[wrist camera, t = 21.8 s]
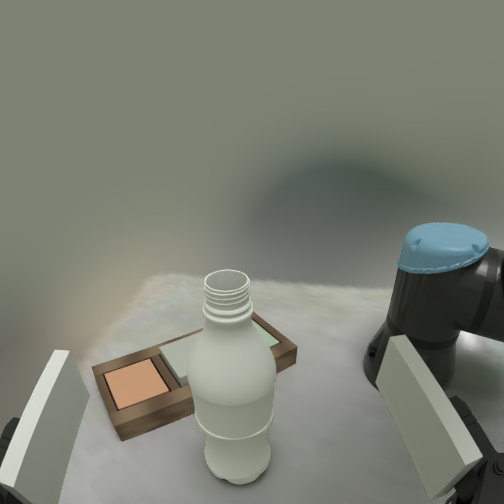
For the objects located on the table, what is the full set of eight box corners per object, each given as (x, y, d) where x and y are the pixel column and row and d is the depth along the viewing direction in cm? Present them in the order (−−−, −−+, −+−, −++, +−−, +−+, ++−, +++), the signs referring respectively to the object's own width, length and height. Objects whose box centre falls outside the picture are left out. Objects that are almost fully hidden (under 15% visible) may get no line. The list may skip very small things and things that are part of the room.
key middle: (204, 345, 49) (202, 331, 48) (228, 372, 44) (227, 358, 42) (162, 361, 45) (158, 347, 44) (182, 391, 40) (179, 377, 39)
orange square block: (153, 372, 45) (149, 358, 44) (172, 403, 39) (169, 390, 38) (109, 387, 41) (104, 374, 40) (124, 421, 36) (118, 409, 35)
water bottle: (241, 501, 27) (228, 327, 17) (195, 465, 31) (151, 282, 21) (282, 461, 32) (302, 276, 22) (236, 432, 36) (225, 248, 26)
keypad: (251, 325, 57) (251, 309, 56) (295, 363, 48) (297, 346, 47) (98, 383, 42) (91, 366, 41) (121, 441, 33) (113, 426, 32)
